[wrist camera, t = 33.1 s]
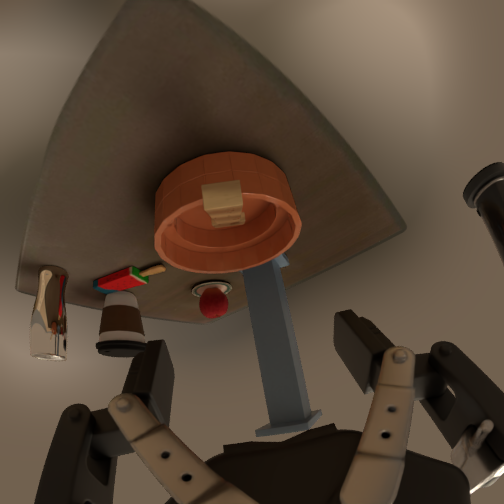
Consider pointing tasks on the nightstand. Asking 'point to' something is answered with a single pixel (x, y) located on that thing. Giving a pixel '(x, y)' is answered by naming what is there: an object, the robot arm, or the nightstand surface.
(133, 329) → the coffee cup
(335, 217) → the nightstand surface
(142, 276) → the popsicle
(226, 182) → the stick
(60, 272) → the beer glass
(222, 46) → the nightstand surface
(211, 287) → the apple
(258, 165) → the bowl
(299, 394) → the stand
